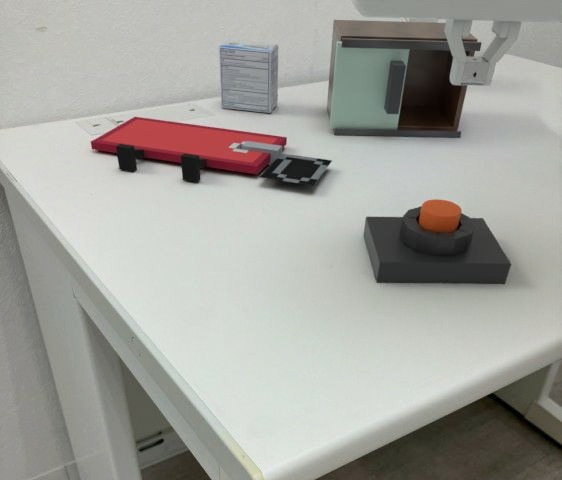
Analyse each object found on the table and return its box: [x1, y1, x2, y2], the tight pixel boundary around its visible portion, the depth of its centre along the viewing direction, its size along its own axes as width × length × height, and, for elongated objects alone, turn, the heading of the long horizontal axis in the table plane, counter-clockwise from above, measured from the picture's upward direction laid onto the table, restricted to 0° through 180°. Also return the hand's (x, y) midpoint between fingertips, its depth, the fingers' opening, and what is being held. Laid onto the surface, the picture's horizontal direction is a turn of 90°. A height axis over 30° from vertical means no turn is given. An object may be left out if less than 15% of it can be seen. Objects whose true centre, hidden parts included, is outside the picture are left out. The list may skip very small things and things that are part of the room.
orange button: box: [419, 198, 462, 232], centre depth 55 cm, size 4×4×2 cm
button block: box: [363, 205, 512, 285], centre depth 56 cm, size 12×9×4 cm
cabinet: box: [326, 19, 482, 138], centre depth 84 cm, size 18×12×12 cm, turn 92°
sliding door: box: [329, 41, 410, 130], centre depth 79 cm, size 10×3×11 cm, turn 92°
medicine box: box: [218, 39, 279, 114], centre depth 88 cm, size 8×4×9 cm, turn 76°
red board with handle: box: [90, 116, 333, 186], centre depth 74 cm, size 30×3×15 cm
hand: (469, 83), depth 47 cm, fingers closed
